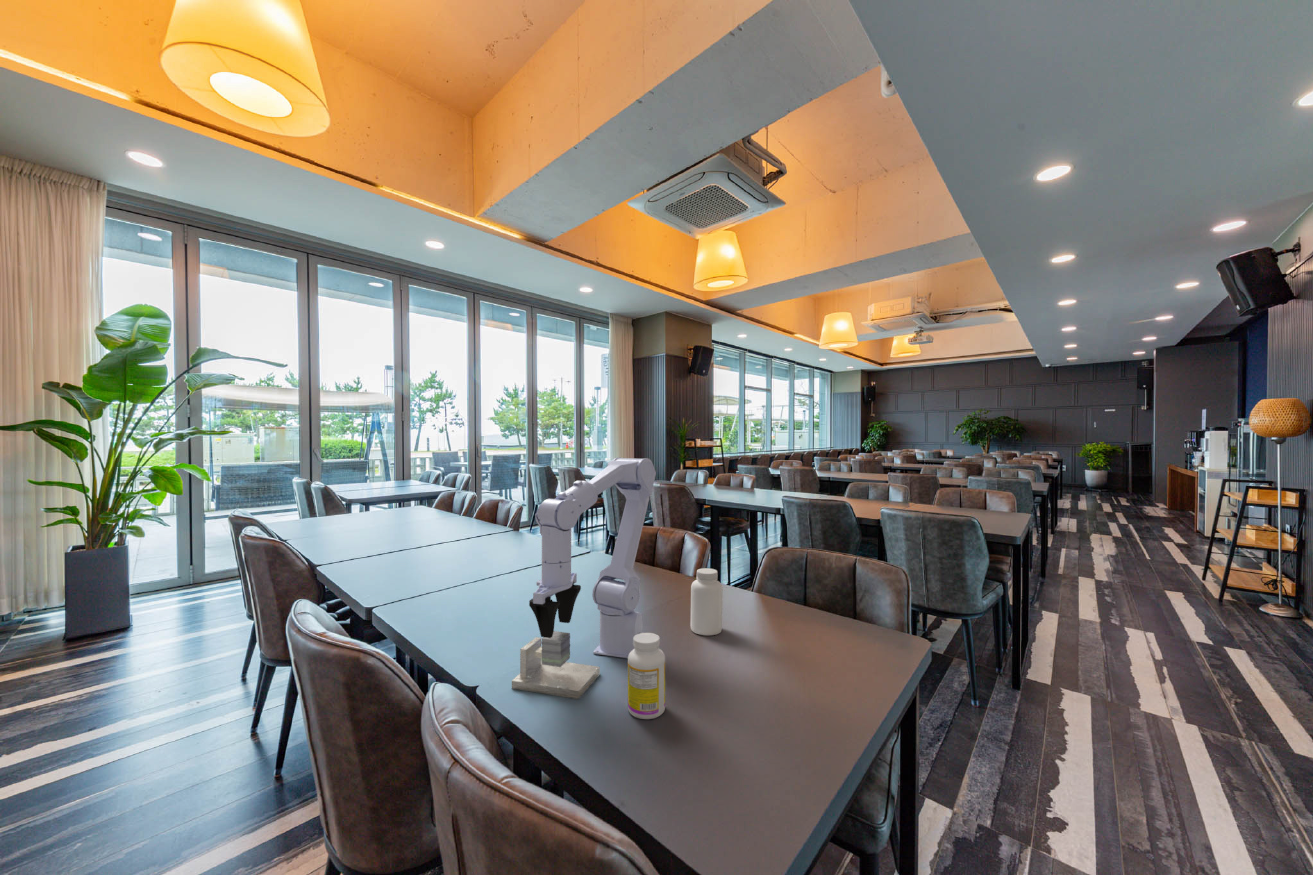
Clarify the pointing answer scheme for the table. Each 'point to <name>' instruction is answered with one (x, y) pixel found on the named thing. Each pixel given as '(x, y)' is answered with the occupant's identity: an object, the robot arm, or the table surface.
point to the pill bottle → (706, 603)
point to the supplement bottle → (646, 677)
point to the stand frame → (552, 674)
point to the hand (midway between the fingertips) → (556, 629)
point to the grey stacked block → (556, 649)
